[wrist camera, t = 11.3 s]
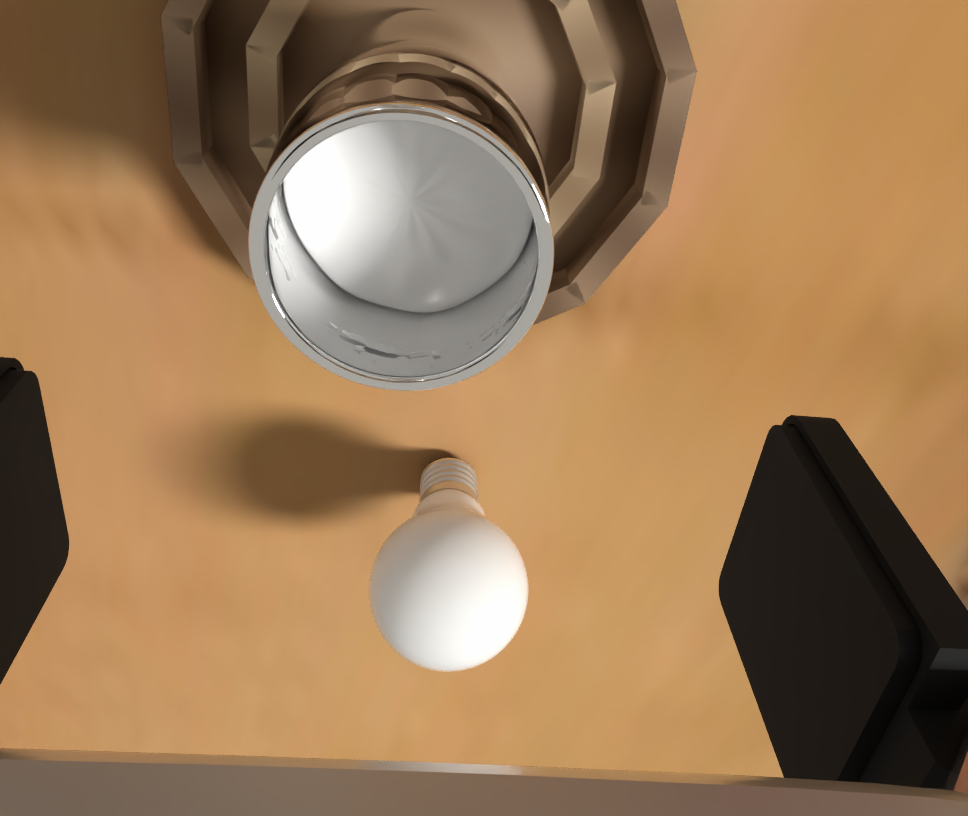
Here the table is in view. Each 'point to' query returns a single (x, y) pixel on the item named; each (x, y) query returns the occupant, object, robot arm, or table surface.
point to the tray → (528, 78)
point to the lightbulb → (448, 577)
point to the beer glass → (405, 211)
